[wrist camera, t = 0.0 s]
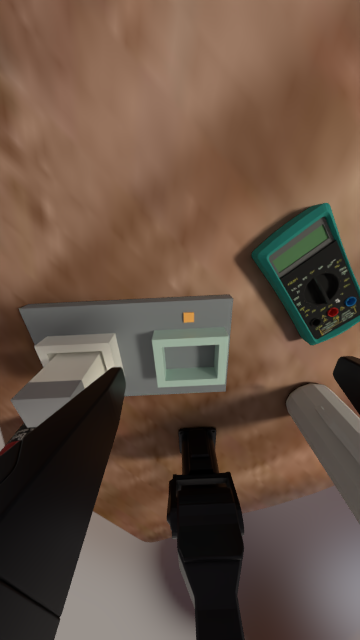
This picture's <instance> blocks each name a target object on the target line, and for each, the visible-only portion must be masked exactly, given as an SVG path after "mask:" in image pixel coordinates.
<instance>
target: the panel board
mask: <svg viewBox="0 0 360 640" xmlns="http://www.w3.org/2000/svg"><path fill="white" fill-rule="evenodd" d="M232 306H233V298H232V297H231V296H230V295H209V296H189V297H168V298H148V299H127V300H106V301H86V302H65V303H45V304H28V305H26V306H24V307H21V308H19V311H20V313H21V315H22V318H23V320H24V322H25V324H26V326H27V329H28V331H29V333H30V335H31V337H32V340H33V342H34V344H35V345H37V344H38V343H39V342H40V341H42V340H43V339H44V338H46V337H47V336H65V335H86V334H107V333H115V335H116V339H117V344H118V348H119V353H120V357H121V362H122V366H123V370H124V375H125V381H126V389H125V394H124V396H138V395H159V394H180V393H201V392H222V391H226V380H225V384H222V385H201V386H180V387H159V388H158V384H157V377H156V369H155V361H154V353H153V345H152V337H153V333H154V330H175V329H195V328H216V327H224V328H225V330H226V332H227V334H228V335H229V342H230V330H231V318H232ZM229 342H228V354H229ZM164 352H165V362H166V369H178V368H199V367H214V357H215V345H200V346H180V347H164ZM227 366H228V355H227ZM226 378H227V367H226Z"/></svg>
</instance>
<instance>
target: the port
mask: <svg viewBox="0 0 360 640" xmlns="http://www.w3.org/2000/svg"><path fill="white" fill-rule="evenodd" d="M228 342H229V335H228V334H227V332H226V330H225V328H224V327H216V328H195V329H175V330H154V333H153V337H152V345H153V353H154V361H155V369H156V377H157V384H158V388H159V387H180V386H201V385H222V384H225V380H226V367H227V355H228ZM200 345H215V357H214V367H199V368H178V369H166V362H165V352H164V347H180V346H200Z"/></svg>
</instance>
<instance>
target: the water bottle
mask: <svg viewBox="0 0 360 640" xmlns="http://www.w3.org/2000/svg"><path fill="white" fill-rule="evenodd" d="M286 406H287V410H288V413H289V414H290V416H291V417H292V419H293V420H294V422H295V423H296V425H297V427H298V428H299V430H300V431H301V433H302V434H303V436H304V438H305V439H306V441H307V442H308V444H309V445H310V447H311V449H312V450H313V452H314V453H315V455H316V456H317V458H318V460H319V461H320V463H321V464H322V466H323V467H324V469H325V470H326V472H327V474H328V475H329V477H330V478H331V480H332V481H333V483H334V485H335V486H336V488H337V489H338V491H339V492H340V494H341V495H342V497H343V499H344V500H345V502H346V503H347V505H348V507H349V508H350V510H351V511H352V513H353V514H354V516H355V517H356V519H357V521H358V522H359V524H360V418H359V417H358V416H357V415H356V414H355V413H354V412H353V411H352V410H351V409H350V408H349V407H348V406H347V405H346V404H345V403H344V402H343V401H342V400H341V399H340V398H339V397H338V396H337V395H336V394H335V393H334V392H333V391H331V390H330V389H329V388H328V387H326V386H325V385H322V384H312V383H310V384H307V385H304V386H301V387H298V388H297V389H296V390H294V391H293V392H292V393H290V395H289V397H288V399H287V401H286Z"/></svg>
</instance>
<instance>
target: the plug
mask: <svg viewBox="0 0 360 640" xmlns="http://www.w3.org/2000/svg"><path fill="white" fill-rule="evenodd" d="M106 371H107V368H106V365H105V361H104V357H103V354H102V351H91V352H70V353H58V354H57V355H56V356H55V357H54V358H53V359H52V360H51V361H50V362H49V363H48V364H47V365H46V366H45V367H44V368H43V369H42V370H41V371H40V372H39V373H38V374H37V375H36V376H34V377H33V378H32V379H31V380H30V381H29V382H28V383H27V384H26V385H25V386H24V387H23V388H22V389H21V390H20V391H19V392H18V393H17V394H16V395H15V396H14V397H13V398H12V399H11V402H12V403H13V405H14V407H15V408H16V410H17V412H18V413H19V415H20V417H21V418H22V420H23V421H24V423H25V425H26V426H27V428H29V427H37V426H39V425H40V424H41V423H42V422H44V421H45V420H46V419H47V418H49V417H50V416H51V415H52V414H54V413H55V412H56V411H57V410H59V409H60V408H61V407H62V406H64V405H65V404H66V403H67V402H69V401H70V400H71V399H72V398H74V397H75V396H76V395H78V394H79V393H80V392H81V391H83V390H84V389H85V388H86V387H88V386H89V385H90V384H91V383H93V382H94V381H95V380H96V379H98V378H99V377H100V376H101V375H103V374H104V373H105V372H106Z"/></svg>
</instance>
